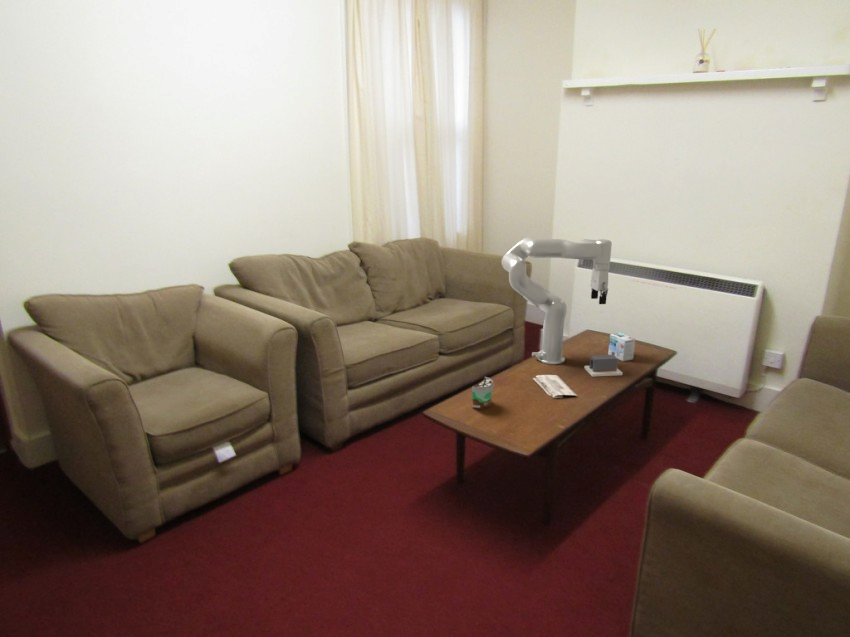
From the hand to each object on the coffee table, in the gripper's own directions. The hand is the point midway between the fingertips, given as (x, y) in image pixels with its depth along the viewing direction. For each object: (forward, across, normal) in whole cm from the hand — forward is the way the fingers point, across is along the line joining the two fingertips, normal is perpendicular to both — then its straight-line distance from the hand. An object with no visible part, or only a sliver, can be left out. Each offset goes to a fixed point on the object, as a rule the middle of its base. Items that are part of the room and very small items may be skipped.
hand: (598, 301), depth 271 cm
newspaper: (+29, +33, -31) cm, 54 cm away
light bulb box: (+29, +2, +13) cm, 31 cm away
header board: (+28, +19, -3) cm, 34 cm away
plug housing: (+27, +19, -3) cm, 33 cm away
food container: (+28, +47, -64) cm, 84 cm away
